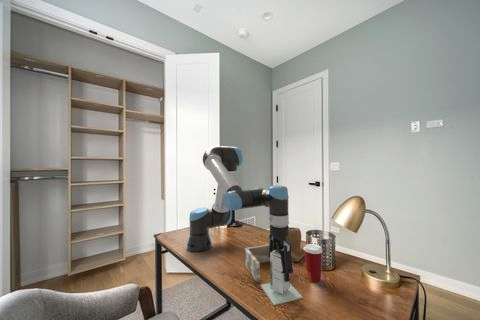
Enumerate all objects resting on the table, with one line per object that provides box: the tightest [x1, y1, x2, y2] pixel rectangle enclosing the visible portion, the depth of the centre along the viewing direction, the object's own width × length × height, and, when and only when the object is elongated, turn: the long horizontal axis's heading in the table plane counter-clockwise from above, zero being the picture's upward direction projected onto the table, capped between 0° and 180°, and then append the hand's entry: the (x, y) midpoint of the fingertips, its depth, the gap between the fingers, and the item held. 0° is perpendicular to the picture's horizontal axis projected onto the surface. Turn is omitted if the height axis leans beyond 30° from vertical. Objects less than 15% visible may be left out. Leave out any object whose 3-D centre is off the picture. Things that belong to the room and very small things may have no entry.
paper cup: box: [303, 243, 323, 284], centre depth 87 cm, size 8×8×14 cm
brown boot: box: [286, 226, 305, 262], centre depth 109 cm, size 15×12×15 cm
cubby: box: [243, 244, 270, 283], centre depth 95 cm, size 16×15×8 cm
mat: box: [260, 282, 303, 306], centre depth 78 cm, size 12×12×1 cm
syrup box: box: [269, 249, 291, 294], centre depth 78 cm, size 6×6×14 cm
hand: (280, 282), depth 78 cm, fingers open, 7 cm apart
